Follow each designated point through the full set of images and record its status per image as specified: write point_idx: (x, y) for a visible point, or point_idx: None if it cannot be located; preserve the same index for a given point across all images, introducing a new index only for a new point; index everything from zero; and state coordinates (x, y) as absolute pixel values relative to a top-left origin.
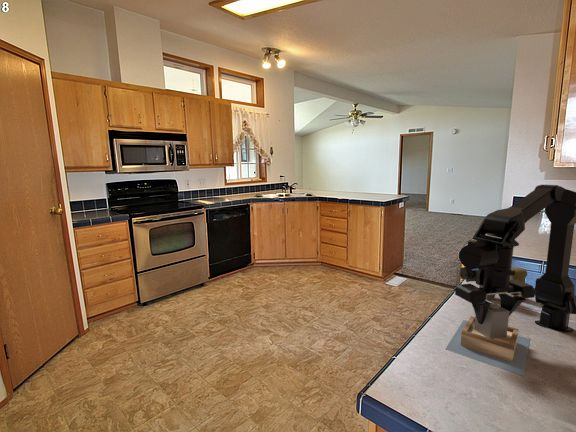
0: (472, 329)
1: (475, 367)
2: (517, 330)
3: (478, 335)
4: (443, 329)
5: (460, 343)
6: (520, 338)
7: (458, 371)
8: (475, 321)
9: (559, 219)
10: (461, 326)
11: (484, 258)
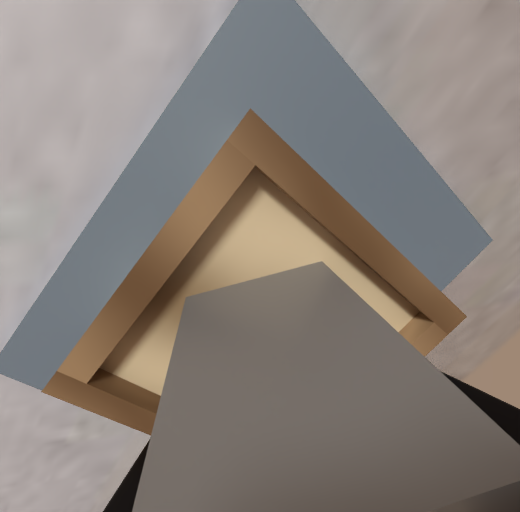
0: (169, 303)
1: (116, 434)
2: (444, 334)
3: (149, 423)
4: (54, 100)
5: (98, 311)
6: (452, 238)
7: (34, 465)
8: (178, 340)
9: None
10: (193, 92)
11: None
